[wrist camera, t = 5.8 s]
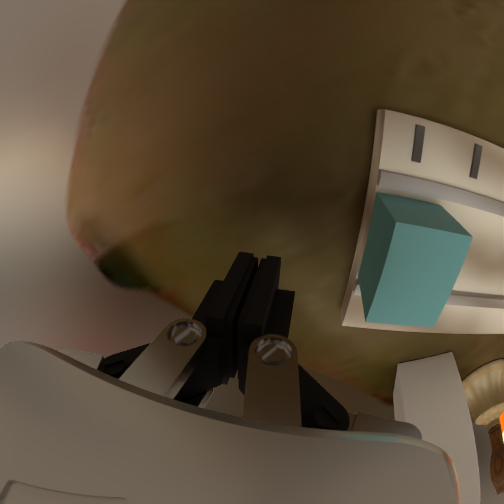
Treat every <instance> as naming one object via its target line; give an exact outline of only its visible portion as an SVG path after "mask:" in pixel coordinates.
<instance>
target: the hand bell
mask: <svg viewBox="0 0 504 504" xmlns="http://www.w3.org/2000/svg"><path fill="white" fill-rule="evenodd" d="M462 385H463V389H464V392H465V396H466V400H467V404H468V407H469V409H470V410H471V412H472V414H473V417H474V420H475V423H476V424H478V425H487V428H488V430H489V431H488V433H489V435H490V441H491V446H492V455H491V463H490V473H491V480H492V483H493V485H494V487H495V489H496V491H497V495H498V494H500V493H503V492H504V441H503V435H502V429H501V424H500V416H501V415H502V413H503V412H504V359H498V360H494V361H492V362H489V363H487V364H485V365H483V366H481V367H479V368H478V369H476V370H475V371H473V372H472V373H471V374H469V375H468V376H467V377H466V378H465V379H464V380H463V381H462Z"/></svg>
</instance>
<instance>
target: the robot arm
mask: <svg viewBox="0 0 504 504" xmlns="http://www.w3.org/2000/svg"><path fill="white" fill-rule="evenodd" d="M280 265H281V257H276V256H267V258H266V259H263V258H262V259H261V261H260V264H259V266H258V258H256V257H254V255H253V253H245V252H239V253H238V255H237V257H236V259H235V261H234V263H233V264H232V266H231V268H230V270H229V272H228V274H227V275H226V277H225V279H224V281H220V280H215V281H214V282H213V284H212V285H211V287H210V289H209V290H208V292H207V294H206V296H205V297H204V299H203V301H202V302H201V304H200V306H199V308H198V309H197V311H196V313H195V314H194V316H193V318H192V319H189V318H183V319H178V320H175V321H173V322H171V323H169V324H168V325H167V326H166V327H165V328H164V329H163V330H162V331H161V332H160V334H159V335H158V336H157V337H156V338H155V339H154V340H153V341H152V342H151V343H149V344H146V345H143V346H139V347H136V348H133V349H130V350H127V351H123V352H120V353H117V354H113V355H111V356H109V357H106V358H104V357H103V355H98V354H93V353H87V352H82V351H77V350H72V349H68V348H60V349H56V350H54V349H52V348H50V347H47V346H44V345H41V344H37V343H33V342H26V341H14V342H9V343H7V344H5V345H4V346H2V347H1V348H0V504H460V493H459V484H458V479H457V474H456V470H455V467H454V464H453V462H452V460H451V458H450V456H449V455H448V454H447V453H446V452H445V451H444V450H443V449H441V448H440V447H438V446H436V445H434V444H432V443H429V442H427V441H424V440H422V434H421V432H420V430H419V429H418V428H417V427H416V426H415V425H413V424H410V423H407V422H401V421H396V420H391V419H386V418H381V417H377V416H372V415H368V414H364V413H360V412H358V413H357V414H352V413H348V412H347V411H346V409H345V408H344V407H343V406H342V405H341V404H340V403H339V402H338V401H337V400H336V399H335V398H333V397H332V396H331V395H330V394H329V393H328V392H327V391H326V390H325V389H324V388H323V387H322V386H321V385H320V384H319V383H317V381H316V380H315V379H313V378H312V377H311V376H310V375H309V374H308V373H307V372H306V371H305V370H304V369H303V368H302V367H301V366H300V365H299V364H298V355H297V349H296V346H295V345H294V343H293V342H292V341H291V340H289V339H288V334H289V328H290V321H291V315H292V309H293V302H294V295H295V291H287V290H280V289H278V286H279V276H280ZM237 369H238V379H239V389H240V391H241V392H242V393H243V394H244V404H243V413H242V417H237V416H232V415H228V414H224V413H220V412H216V411H212V410H208V409H204V407H205V405H206V403H207V402H208V400H209V398H210V397H211V395H212V393H213V388H214V387H217V386H219V385H221V384H226V385H227V383H228V380H229V377H231V378H234V377H235V375H236V372H237Z"/></svg>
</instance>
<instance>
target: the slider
mask: <svg viewBox="0 0 504 504" xmlns="http://www.w3.org/2000/svg"><path fill="white" fill-rule="evenodd" d="M472 238H473V237H472V236H471V234H470V233H469V232H468V231H467V230H466V229H465V228H464V227H463V226H462V225H461V224H460V223H459V222H458V221H457V220H456V219H455V218H454V217H453V216H452V215H451V214H450V213H448V212H447V211H446V210H445V209H444V208H443V207H442V206H441V205H438V204H433V203H429V202H424V201H420V200H415V199H410V198H405V197H400V196H395V195H389V194H384V193H378V192H376V198H375V203H374V209H373V214H372V219H371V224H370V228H369V233H368V237H367V242H366V246H365V250H364V254H363V258H362V262H361V266H360V270H359V274H358V280H359V285H360V291H361V297H362V303H363V310H364V317H365V322H370V323H381V324H392V325H405V326H420V327H434V326H435V324H436V322H437V320H438V318H439V316H440V314H441V312H442V310H443V308H444V306H445V304H446V302H447V300H448V298H449V296H450V294H451V291H452V289H453V287H454V285H455V282H456V280H457V278H458V275H459V273H460V271H461V268H462V266H463V263H464V260H465V258H466V255H467V252H468V250H469V247H470V244H471V241H472Z"/></svg>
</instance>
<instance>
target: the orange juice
mask: <svg viewBox="0 0 504 504" xmlns="http://www.w3.org/2000/svg"><path fill="white" fill-rule="evenodd" d="M500 424H501V429H502V435H503V441H504V412H503V413H502V415H501V416H500Z"/></svg>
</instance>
